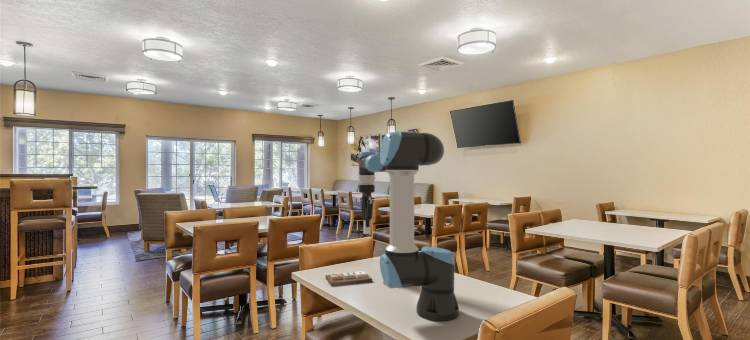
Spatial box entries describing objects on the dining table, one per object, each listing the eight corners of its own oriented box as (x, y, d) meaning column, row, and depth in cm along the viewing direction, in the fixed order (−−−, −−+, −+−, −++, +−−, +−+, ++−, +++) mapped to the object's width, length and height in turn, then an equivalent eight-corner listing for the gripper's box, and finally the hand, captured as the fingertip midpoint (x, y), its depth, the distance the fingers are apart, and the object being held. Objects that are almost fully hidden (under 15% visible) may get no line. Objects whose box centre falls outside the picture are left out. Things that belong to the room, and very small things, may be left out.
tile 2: (354, 280, 171) (354, 274, 171) (344, 281, 170) (345, 275, 170) (351, 277, 176) (351, 271, 176) (342, 278, 174) (342, 272, 174)
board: (372, 281, 170) (372, 278, 170) (331, 286, 164) (331, 282, 164) (364, 274, 182) (364, 271, 181) (325, 278, 175) (325, 275, 175)
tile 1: (366, 279, 173) (366, 273, 173) (357, 280, 172) (357, 274, 172) (363, 276, 177) (363, 270, 177) (354, 277, 176) (354, 271, 176)
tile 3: (342, 281, 169) (342, 275, 169) (332, 282, 168) (332, 276, 168) (339, 278, 174) (339, 272, 174) (330, 279, 172) (330, 273, 172)
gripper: (378, 184, 173) (378, 235, 173) (369, 183, 185) (369, 231, 185) (363, 184, 171) (363, 236, 171) (355, 183, 183) (355, 232, 183)
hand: (366, 233), depth 178 cm, fingers closed
